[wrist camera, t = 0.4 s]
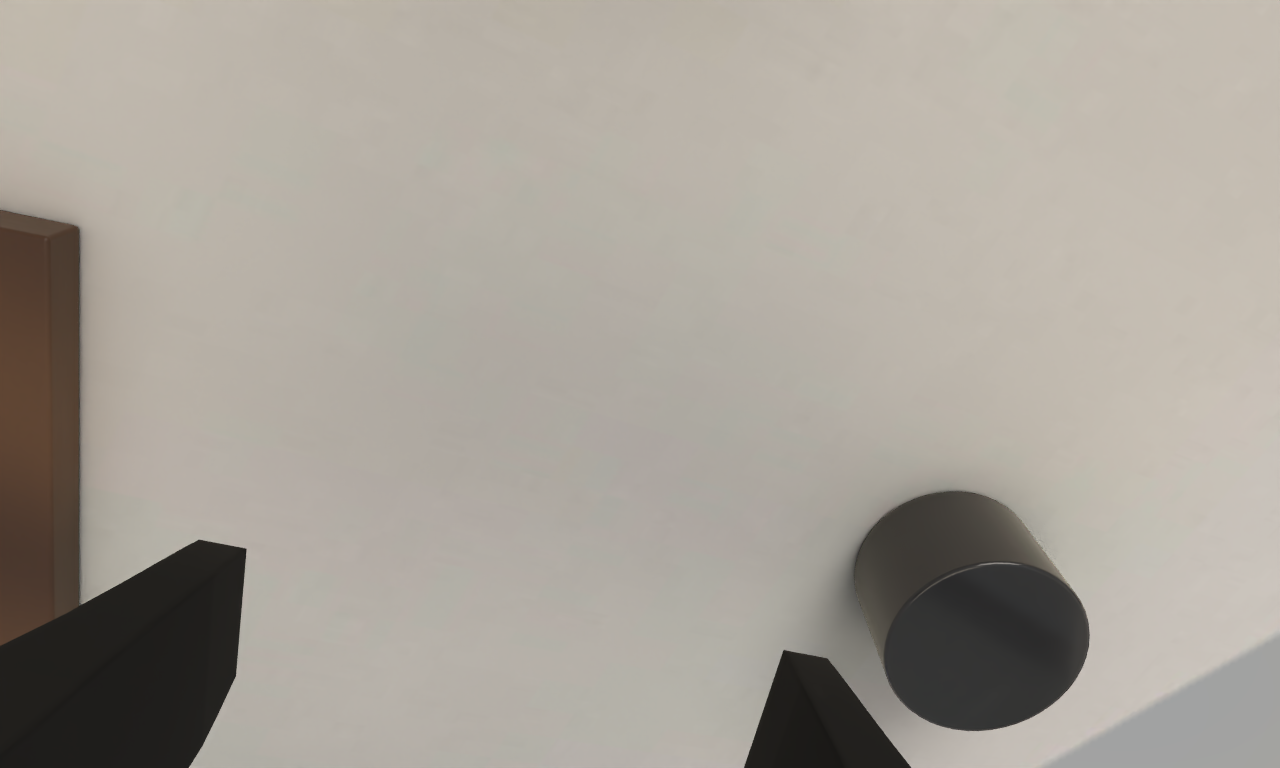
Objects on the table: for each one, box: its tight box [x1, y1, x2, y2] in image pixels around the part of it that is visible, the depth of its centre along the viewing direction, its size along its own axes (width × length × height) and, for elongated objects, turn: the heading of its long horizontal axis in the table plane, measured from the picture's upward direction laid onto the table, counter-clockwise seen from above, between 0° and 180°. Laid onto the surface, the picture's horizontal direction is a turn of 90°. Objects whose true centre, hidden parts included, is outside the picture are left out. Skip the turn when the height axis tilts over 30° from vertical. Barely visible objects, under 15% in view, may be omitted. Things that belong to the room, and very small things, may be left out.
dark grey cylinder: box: [854, 491, 1090, 731], centre depth 22 cm, size 4×4×3 cm
